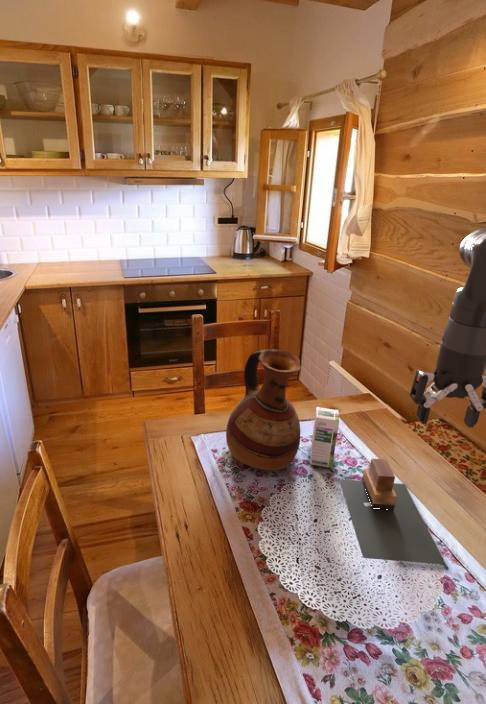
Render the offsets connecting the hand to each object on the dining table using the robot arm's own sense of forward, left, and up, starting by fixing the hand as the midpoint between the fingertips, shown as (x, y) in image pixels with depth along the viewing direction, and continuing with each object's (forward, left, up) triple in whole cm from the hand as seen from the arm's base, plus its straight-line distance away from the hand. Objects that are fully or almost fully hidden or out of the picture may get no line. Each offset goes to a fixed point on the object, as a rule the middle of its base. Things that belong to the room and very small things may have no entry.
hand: (445, 423), depth 77 cm
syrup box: (+16, -23, -28) cm, 40 cm away
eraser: (+5, -11, -27) cm, 30 cm away
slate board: (+5, -4, -28) cm, 29 cm away
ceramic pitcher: (+32, -24, -28) cm, 49 cm away
